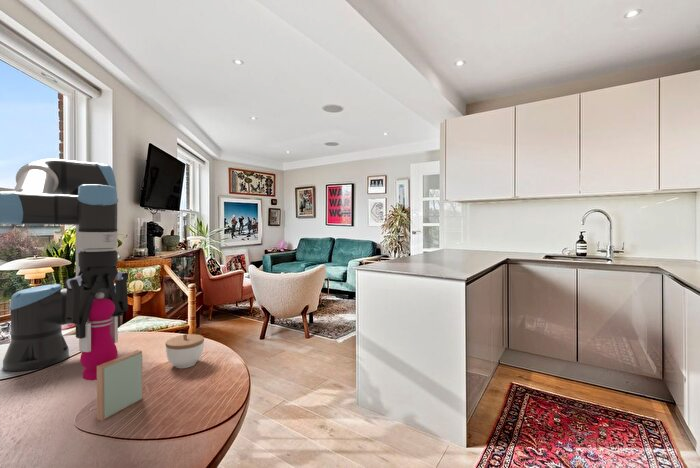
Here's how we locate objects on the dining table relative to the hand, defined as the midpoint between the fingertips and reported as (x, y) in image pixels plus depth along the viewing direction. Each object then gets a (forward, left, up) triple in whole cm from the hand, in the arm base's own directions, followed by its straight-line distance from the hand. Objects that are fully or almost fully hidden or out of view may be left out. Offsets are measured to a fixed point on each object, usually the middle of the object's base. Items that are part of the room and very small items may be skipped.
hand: (99, 346), depth 81 cm
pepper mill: (0, 0, -7) cm, 7 cm away
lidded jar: (+2, +25, -14) cm, 29 cm away
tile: (+7, 0, -14) cm, 16 cm away
